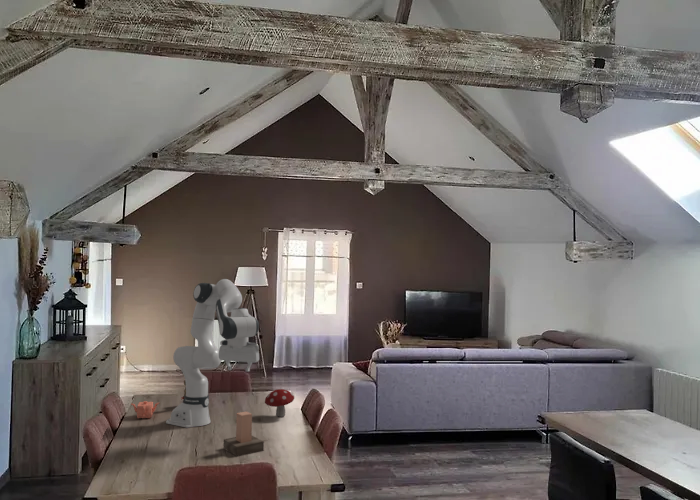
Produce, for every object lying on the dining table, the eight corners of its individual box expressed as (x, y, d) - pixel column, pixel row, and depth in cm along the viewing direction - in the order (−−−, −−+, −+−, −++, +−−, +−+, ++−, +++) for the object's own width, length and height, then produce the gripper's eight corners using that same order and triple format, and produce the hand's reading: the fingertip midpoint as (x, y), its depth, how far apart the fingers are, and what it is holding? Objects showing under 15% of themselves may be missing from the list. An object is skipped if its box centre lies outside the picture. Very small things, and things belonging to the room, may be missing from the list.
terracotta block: (236, 440, 267) (236, 413, 267) (246, 438, 270) (246, 411, 270) (241, 442, 263) (241, 415, 263) (251, 440, 266) (251, 413, 266)
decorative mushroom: (296, 420, 315) (297, 391, 315) (266, 422, 310) (267, 393, 310) (291, 412, 330) (291, 384, 330) (262, 414, 325) (262, 386, 326)
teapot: (158, 419, 312) (159, 403, 312) (128, 420, 309) (128, 404, 309) (160, 413, 324) (161, 398, 324) (131, 414, 320) (131, 399, 320)
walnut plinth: (223, 448, 268) (223, 439, 268) (249, 443, 276) (249, 434, 276) (236, 456, 257) (237, 447, 257) (263, 450, 265) (263, 441, 265)
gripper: (261, 342, 286) (261, 371, 286) (223, 339, 293) (223, 368, 293) (255, 343, 280) (255, 373, 280) (217, 341, 287) (216, 370, 287)
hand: (238, 370), depth 287 cm, fingers open, 8 cm apart
